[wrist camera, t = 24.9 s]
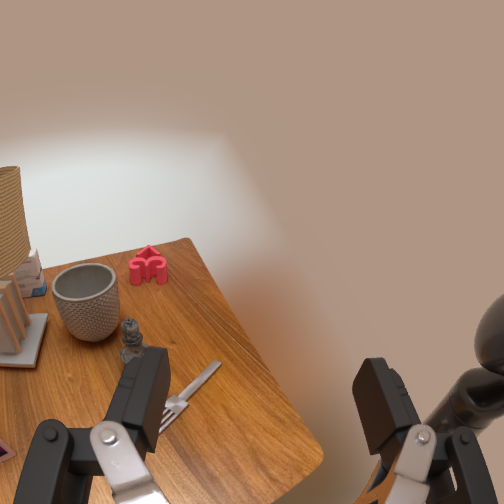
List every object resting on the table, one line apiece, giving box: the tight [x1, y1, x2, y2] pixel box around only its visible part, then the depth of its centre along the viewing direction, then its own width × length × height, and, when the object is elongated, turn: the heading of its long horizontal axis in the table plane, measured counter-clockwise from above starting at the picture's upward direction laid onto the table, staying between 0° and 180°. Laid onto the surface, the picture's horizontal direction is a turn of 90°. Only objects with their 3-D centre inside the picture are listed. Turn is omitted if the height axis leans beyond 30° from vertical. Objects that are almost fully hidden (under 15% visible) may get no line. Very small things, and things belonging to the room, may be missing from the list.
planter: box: [51, 263, 120, 342], centre depth 49 cm, size 14×14×13 cm
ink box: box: [11, 249, 47, 298], centre depth 56 cm, size 9×5×12 cm, turn 116°
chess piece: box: [120, 317, 147, 364], centre depth 44 cm, size 6×6×12 cm
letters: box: [129, 245, 167, 285], centre depth 76 cm, size 14×10×5 cm
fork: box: [158, 360, 222, 436], centre depth 42 cm, size 19×3×1 cm, turn 151°
